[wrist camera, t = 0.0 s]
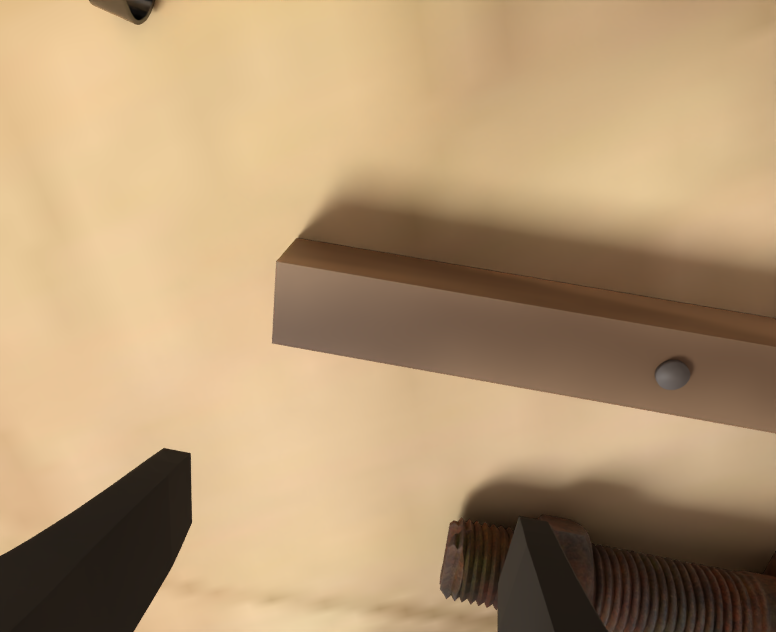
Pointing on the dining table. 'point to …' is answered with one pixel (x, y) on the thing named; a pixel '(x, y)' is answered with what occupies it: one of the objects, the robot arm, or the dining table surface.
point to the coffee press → (127, 9)
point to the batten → (528, 333)
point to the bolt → (619, 582)
